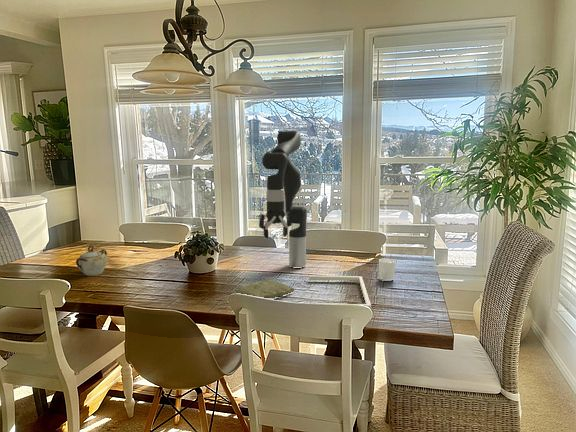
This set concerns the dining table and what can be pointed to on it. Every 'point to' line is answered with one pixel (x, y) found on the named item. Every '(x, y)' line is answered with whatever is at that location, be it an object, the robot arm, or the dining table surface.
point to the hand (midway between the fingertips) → (275, 236)
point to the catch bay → (365, 295)
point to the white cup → (386, 268)
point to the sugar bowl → (92, 262)
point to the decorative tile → (266, 289)
